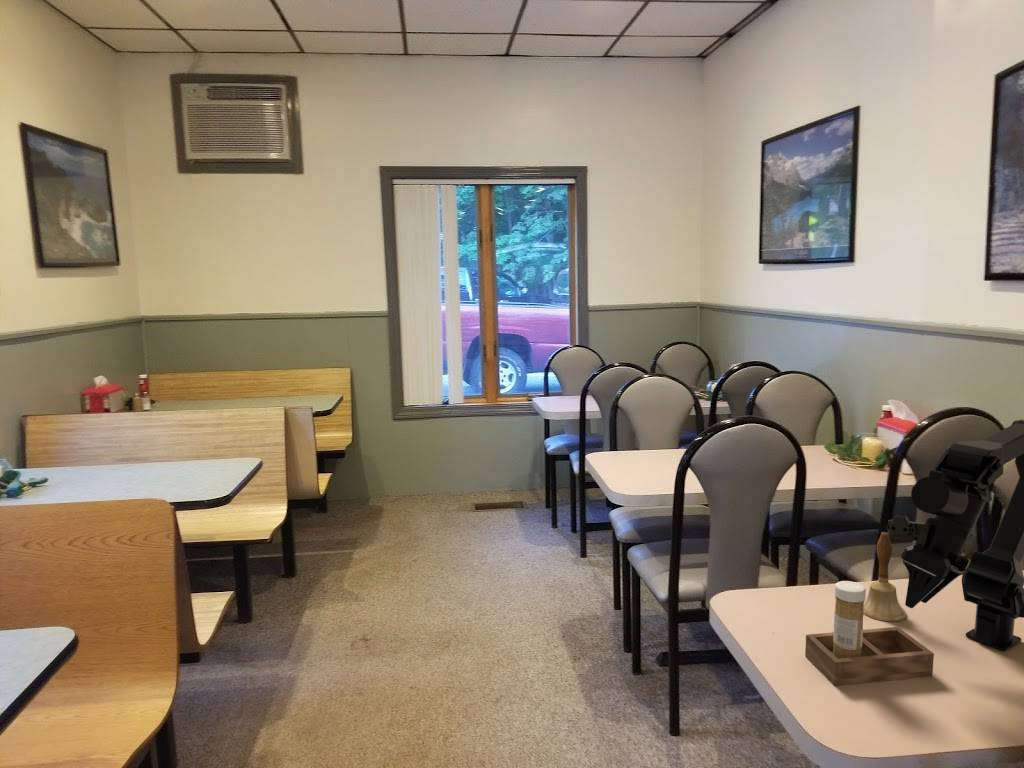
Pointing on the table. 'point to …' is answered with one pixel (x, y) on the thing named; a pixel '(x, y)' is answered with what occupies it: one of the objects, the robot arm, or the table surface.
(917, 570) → the robot arm
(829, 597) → the table surface
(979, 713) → the table surface
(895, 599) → the hand bell
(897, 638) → the wooden compartment tray
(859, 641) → the sprinkles bottle
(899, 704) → the table surface
